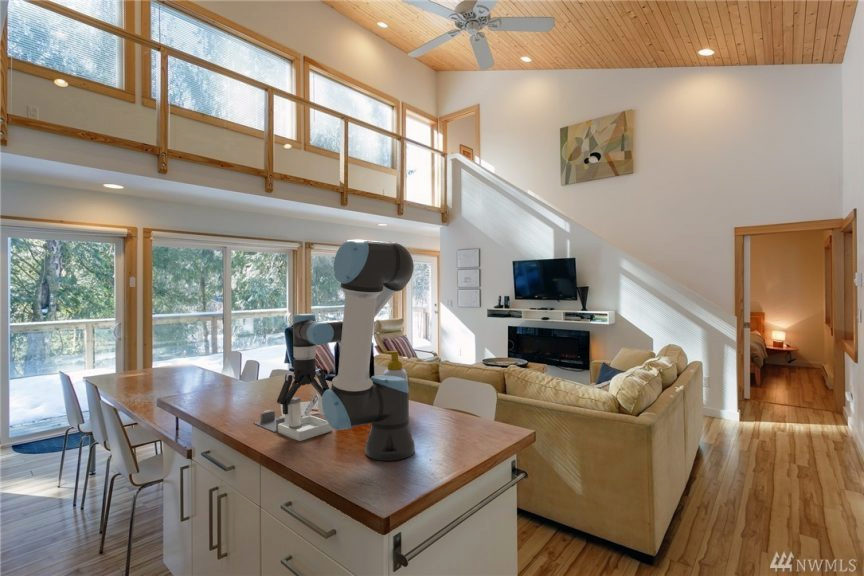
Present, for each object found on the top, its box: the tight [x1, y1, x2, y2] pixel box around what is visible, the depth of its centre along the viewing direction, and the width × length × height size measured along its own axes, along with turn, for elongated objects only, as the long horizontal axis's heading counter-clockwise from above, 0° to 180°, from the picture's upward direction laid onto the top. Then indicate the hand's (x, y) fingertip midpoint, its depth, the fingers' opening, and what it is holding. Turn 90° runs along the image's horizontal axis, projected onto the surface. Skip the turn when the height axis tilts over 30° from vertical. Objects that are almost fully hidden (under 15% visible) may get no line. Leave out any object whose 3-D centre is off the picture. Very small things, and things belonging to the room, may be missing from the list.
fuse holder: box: [253, 409, 285, 433], centre depth 158 cm, size 15×9×4 cm, turn 50°
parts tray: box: [277, 414, 333, 442], centre depth 151 cm, size 13×13×3 cm
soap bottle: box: [382, 350, 407, 380], centre depth 170 cm, size 9×9×25 cm
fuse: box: [289, 396, 302, 430], centre depth 147 cm, size 4×4×10 cm
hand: (305, 418), depth 151 cm, fingers open, 13 cm apart
